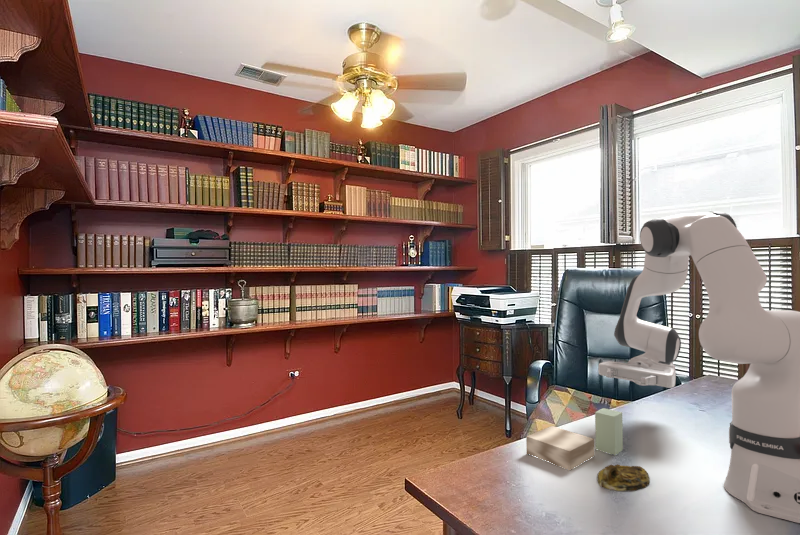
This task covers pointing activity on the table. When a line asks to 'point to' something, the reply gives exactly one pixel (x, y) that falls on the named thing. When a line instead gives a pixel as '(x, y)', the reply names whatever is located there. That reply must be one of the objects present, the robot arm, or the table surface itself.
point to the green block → (609, 431)
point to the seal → (623, 478)
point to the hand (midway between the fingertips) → (625, 378)
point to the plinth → (560, 447)
